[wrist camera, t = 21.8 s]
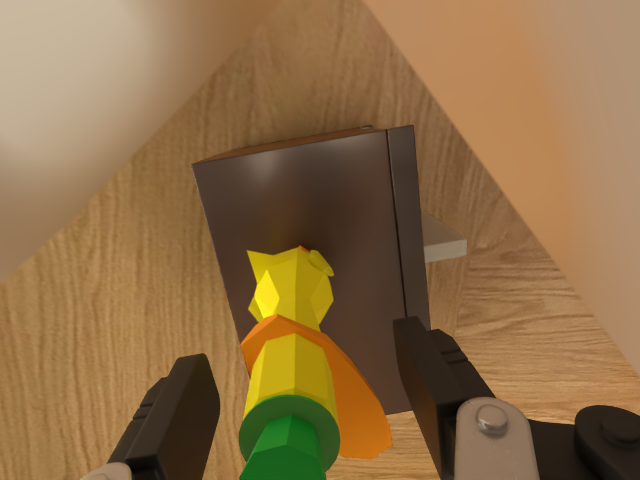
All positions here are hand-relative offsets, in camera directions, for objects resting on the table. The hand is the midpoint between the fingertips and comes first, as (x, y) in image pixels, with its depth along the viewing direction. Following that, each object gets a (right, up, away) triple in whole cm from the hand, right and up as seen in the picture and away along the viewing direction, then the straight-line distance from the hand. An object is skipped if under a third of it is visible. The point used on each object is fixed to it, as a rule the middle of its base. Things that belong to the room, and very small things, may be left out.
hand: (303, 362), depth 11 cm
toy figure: (0, +2, +7) cm, 8 cm away
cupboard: (0, +3, +17) cm, 18 cm away
